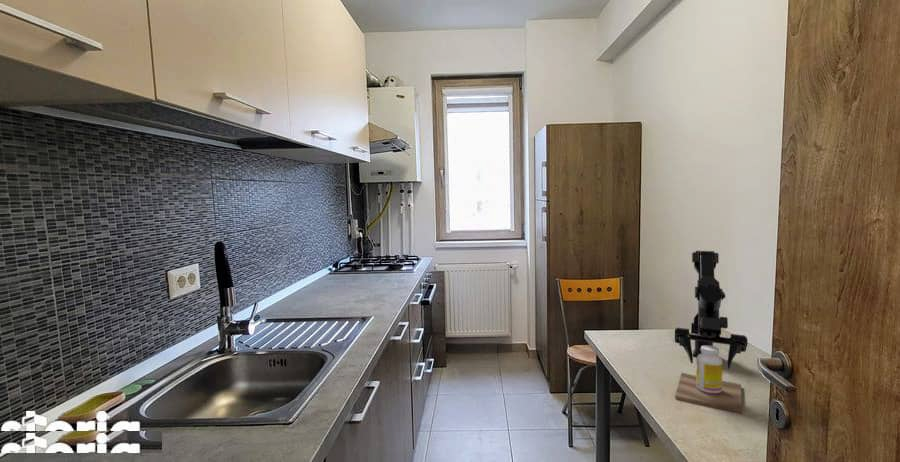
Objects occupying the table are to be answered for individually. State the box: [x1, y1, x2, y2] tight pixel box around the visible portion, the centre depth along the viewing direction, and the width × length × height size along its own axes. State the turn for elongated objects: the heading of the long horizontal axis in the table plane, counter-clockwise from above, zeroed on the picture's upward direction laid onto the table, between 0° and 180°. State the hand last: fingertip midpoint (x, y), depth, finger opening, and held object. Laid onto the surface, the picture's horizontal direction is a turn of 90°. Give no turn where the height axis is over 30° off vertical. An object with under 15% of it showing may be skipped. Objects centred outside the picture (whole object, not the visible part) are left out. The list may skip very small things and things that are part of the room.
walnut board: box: [674, 372, 743, 415], centre depth 125 cm, size 18×16×1 cm
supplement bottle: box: [695, 345, 724, 394], centre depth 124 cm, size 7×7×13 cm
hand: (709, 365), depth 123 cm, fingers open, 9 cm apart
